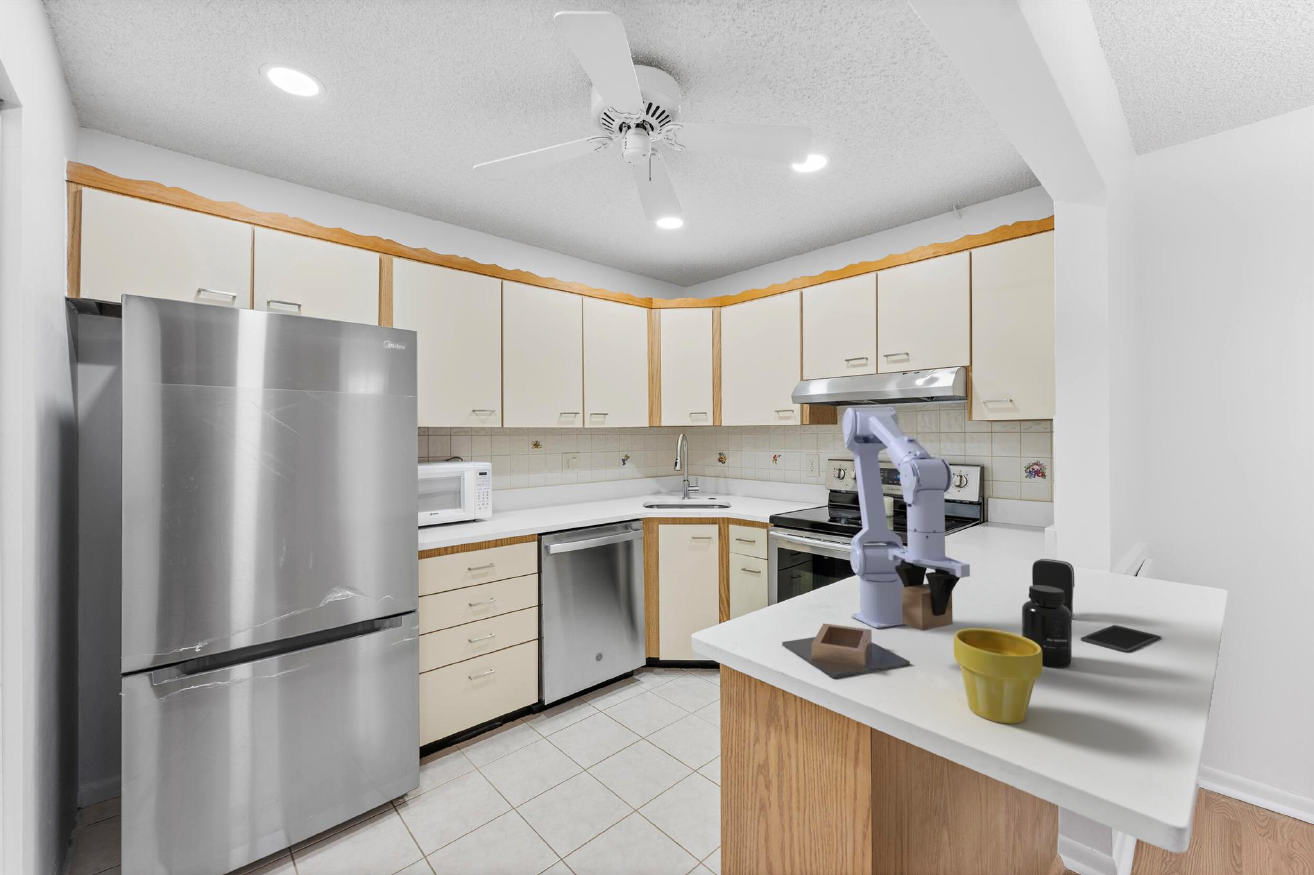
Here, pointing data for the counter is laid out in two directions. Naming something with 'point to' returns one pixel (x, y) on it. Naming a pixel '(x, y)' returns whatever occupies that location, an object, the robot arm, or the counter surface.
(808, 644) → the duct collar
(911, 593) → the block
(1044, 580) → the battery charger
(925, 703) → the counter surface
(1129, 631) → the cell phone
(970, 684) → the plant pot
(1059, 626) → the supplement bottle
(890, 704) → the counter surface
